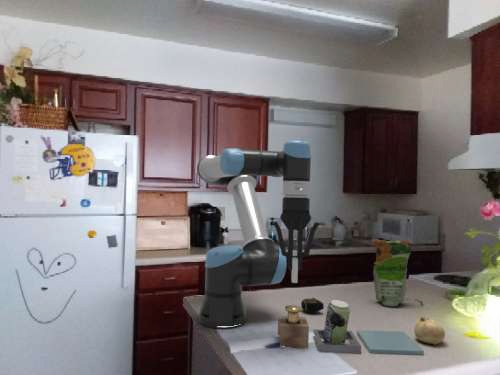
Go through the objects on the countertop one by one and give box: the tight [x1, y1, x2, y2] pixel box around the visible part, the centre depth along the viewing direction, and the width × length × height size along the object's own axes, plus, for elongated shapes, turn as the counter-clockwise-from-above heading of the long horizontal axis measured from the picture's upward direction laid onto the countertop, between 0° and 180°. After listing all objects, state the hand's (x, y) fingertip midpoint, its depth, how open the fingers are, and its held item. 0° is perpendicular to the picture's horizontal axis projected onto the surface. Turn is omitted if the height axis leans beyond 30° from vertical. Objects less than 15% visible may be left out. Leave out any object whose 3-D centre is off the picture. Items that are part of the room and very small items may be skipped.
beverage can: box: [322, 299, 351, 344], centre depth 107 cm, size 6×7×12 cm
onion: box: [413, 316, 446, 346], centre depth 111 cm, size 8×8×7 cm
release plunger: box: [284, 304, 302, 324], centre depth 108 cm, size 4×4×7 cm
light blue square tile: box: [356, 329, 425, 356], centre depth 109 cm, size 14×14×1 cm
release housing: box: [277, 315, 310, 349], centre depth 108 cm, size 8×8×6 cm
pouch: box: [372, 238, 412, 307], centre depth 148 cm, size 11×12×25 cm
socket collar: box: [312, 329, 362, 354], centre depth 107 cm, size 11×11×2 cm
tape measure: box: [300, 297, 325, 313], centre depth 135 cm, size 7×7×4 cm
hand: (294, 281), depth 107 cm, fingers closed
